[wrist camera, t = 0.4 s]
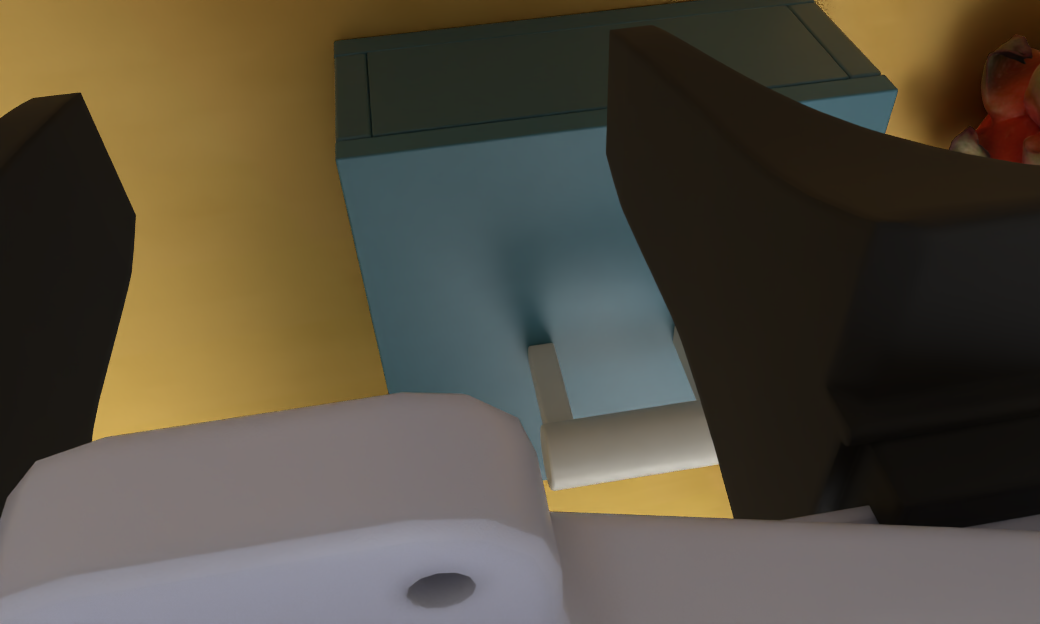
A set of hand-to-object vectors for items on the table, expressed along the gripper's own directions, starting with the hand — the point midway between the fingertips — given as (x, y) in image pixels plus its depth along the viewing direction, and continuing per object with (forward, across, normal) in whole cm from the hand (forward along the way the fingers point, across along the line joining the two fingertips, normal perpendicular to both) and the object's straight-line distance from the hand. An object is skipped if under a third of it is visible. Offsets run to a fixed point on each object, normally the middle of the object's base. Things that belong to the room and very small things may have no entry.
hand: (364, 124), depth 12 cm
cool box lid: (+5, -5, +10) cm, 12 cm away
